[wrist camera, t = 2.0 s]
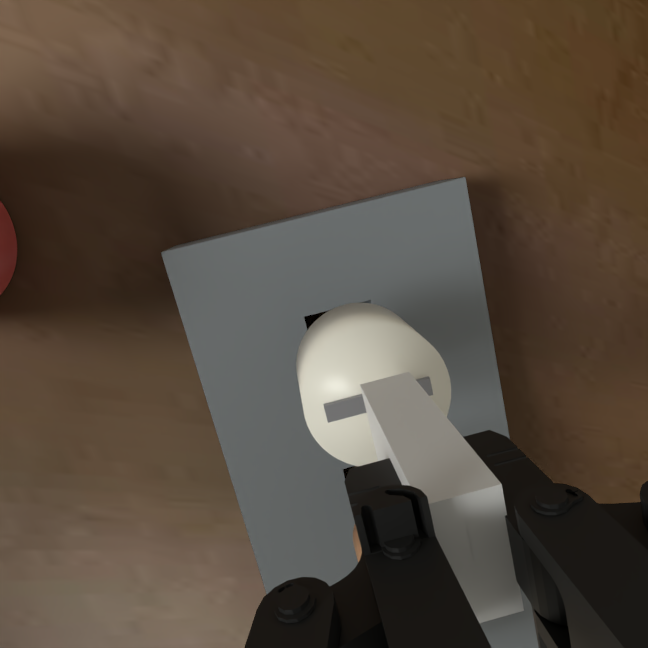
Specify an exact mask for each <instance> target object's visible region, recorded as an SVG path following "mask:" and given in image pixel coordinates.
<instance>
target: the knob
mask: <svg viewBox="0 0 648 648" xmlns="http://www.w3.org/2000/svg"><path fill="white" fill-rule="evenodd" d="M296 370H297V377H298V383H299V389H300V394H301V400H302V406H303V411H304V417H305V420H306V423H307V426H308V428H309V430H310V432H311V434H312V436H313V437H314V438H315V440H316V441H317V443H318V444H319V445H320V446H321V447H322V448H323V449H324V450H325V451H327V452H328V453H329V454H330V455H332V456H333V457H335V458H337V459H338V460H341V461H343V462H345V463H348V464H351V465H354V466H362V465H366V464H369V463H373V462H377V461H378V459H377V455H376V450H375V446H374V442H373V438H372V433H371V429H370V425H369V421H368V416H367V412H366V408H365V404H364V399H363V395H362V391H361V387H360V384H364V383H368V382H371V381H375V380H379V379H383V378H387V377H391V376H394V375H398V374H402V373H406V372H410V373H411V375H412V376H413V377H414V378H415V379H416V381H417V382H418V383H419V384H420V386H421V387H422V388H423V389H424V390H425V392H426V393H427V394H428V395H429V396H430V398H431V399H432V400H433V401H434V403H435V404H436V405H437V406H438V407H439V409H440V410H441V411H442V412H443V413H444V415H445V416H446V417H447V415H448V411H449V407H450V401H451V383H450V377H449V373H448V370H447V367H446V365H445V363H444V361H443V359H442V357H441V356H440V354H439V353H438V352H437V350H436V349H435V348H434V347H433V346H432V345H431V344H430V343H429V342H428V341H427V340H426V339H425V338H423V337H422V336H421V335H420V334H419V333H418V332H416V331H415V330H414V329H413V328H412V327H411V326H409V325H408V324H407V323H406V322H405V321H404V320H402V319H401V318H400V317H399V316H398V315H396V314H395V313H393V312H392V311H390V310H388V309H386V308H384V307H382V306H379V305H375V304H370V303H350V304H345V305H342V306H339V307H336V308H334V309H332V310H329V311H328V312H326V313H325V314H323V315H322V316H320V317H319V318H318V319H317V320H316V321H315V322H314V323H313V324H312V325H311V326H310V327H309V329H308V330H307V332H306V333H305V335H304V337H303V339H302V340H301V343H300V346H299V349H298V353H297V360H296Z"/></svg>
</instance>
